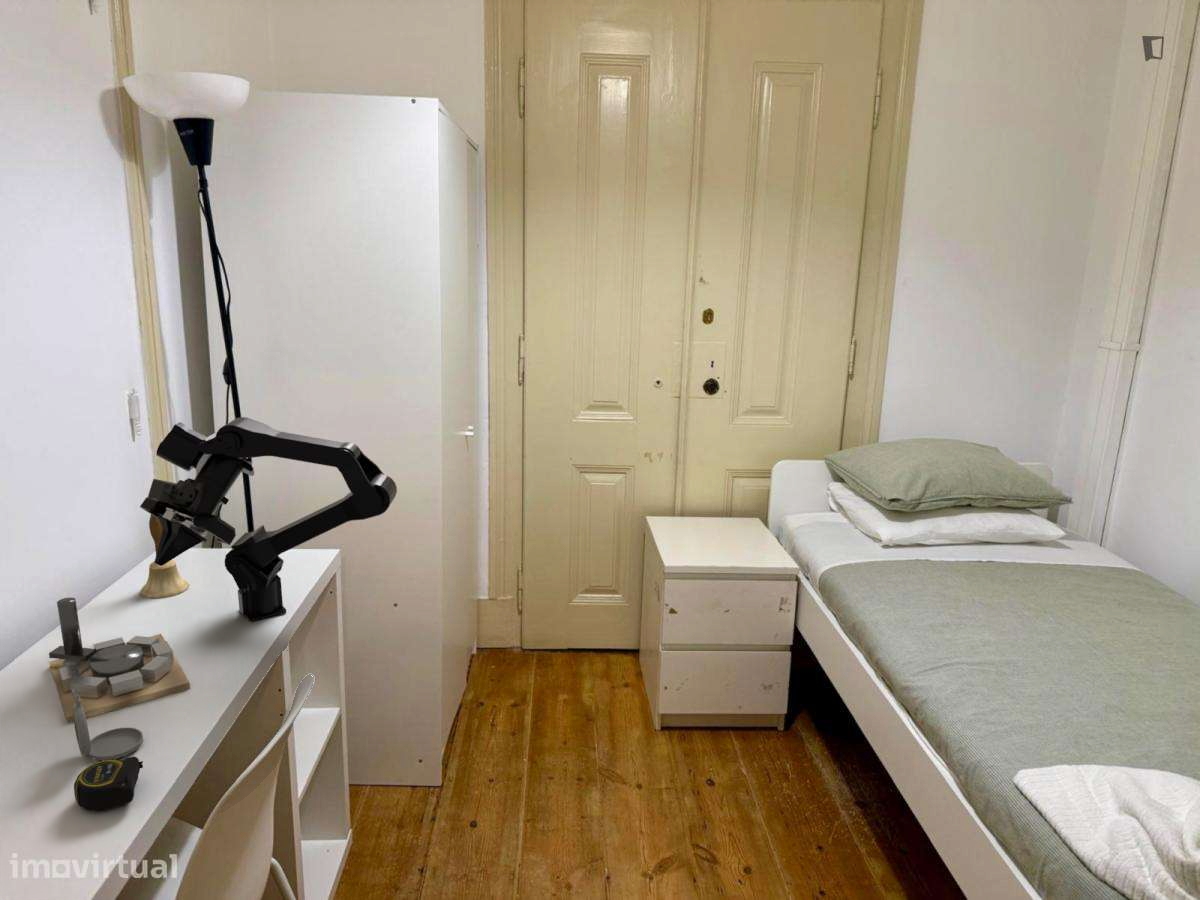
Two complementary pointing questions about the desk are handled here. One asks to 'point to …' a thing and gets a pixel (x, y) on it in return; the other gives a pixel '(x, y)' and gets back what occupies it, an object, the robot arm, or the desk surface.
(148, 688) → the oak board
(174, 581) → the hand bell
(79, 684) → the block ring with rod
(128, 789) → the tape measure
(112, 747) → the pocket watch
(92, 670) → the grey metal puck
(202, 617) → the desk surface
